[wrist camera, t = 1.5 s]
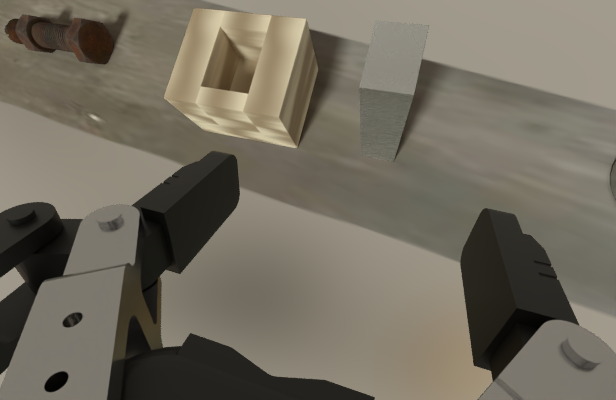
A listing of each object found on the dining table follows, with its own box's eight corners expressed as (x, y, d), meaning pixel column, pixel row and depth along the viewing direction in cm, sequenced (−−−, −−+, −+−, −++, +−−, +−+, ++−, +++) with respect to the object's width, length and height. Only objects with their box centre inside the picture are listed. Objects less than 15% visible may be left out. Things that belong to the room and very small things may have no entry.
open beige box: (318, 69, 37) (306, 18, 29) (297, 148, 35) (278, 117, 28) (227, 57, 39) (194, 8, 32) (204, 130, 38) (163, 97, 30)
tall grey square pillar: (403, 118, 34) (429, 25, 20) (393, 161, 33) (413, 94, 20) (371, 113, 35) (375, 20, 21) (361, 155, 34) (359, 87, 20)
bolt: (45, 44, 48) (121, 56, 44) (15, 59, 45) (94, 73, 41) (16, 1, 44) (98, 11, 40) (-19, 15, 41) (66, 26, 37)
